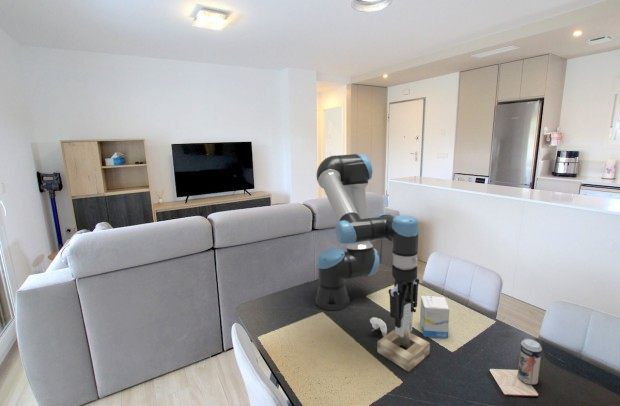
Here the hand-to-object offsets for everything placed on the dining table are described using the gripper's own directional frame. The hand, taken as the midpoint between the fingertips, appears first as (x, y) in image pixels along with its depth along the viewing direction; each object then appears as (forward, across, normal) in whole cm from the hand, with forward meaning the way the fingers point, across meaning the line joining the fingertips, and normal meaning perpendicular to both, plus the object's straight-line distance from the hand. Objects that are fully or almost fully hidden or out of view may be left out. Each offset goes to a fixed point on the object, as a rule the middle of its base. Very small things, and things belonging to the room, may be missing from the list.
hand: (403, 331), depth 98 cm
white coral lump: (+8, +3, +12) cm, 15 cm away
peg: (+4, 0, 0) cm, 4 cm away
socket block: (+8, 0, 0) cm, 8 cm away
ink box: (+8, +18, 0) cm, 20 cm away
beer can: (+8, +17, -30) cm, 36 cm away
